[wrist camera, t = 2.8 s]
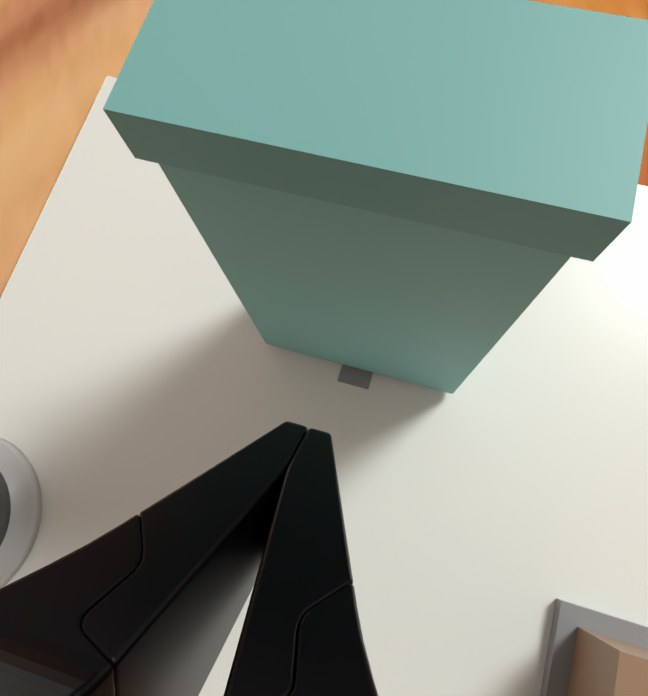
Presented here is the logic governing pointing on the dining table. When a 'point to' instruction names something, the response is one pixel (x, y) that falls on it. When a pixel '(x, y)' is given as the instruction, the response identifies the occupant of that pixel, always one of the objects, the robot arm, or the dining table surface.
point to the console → (342, 439)
